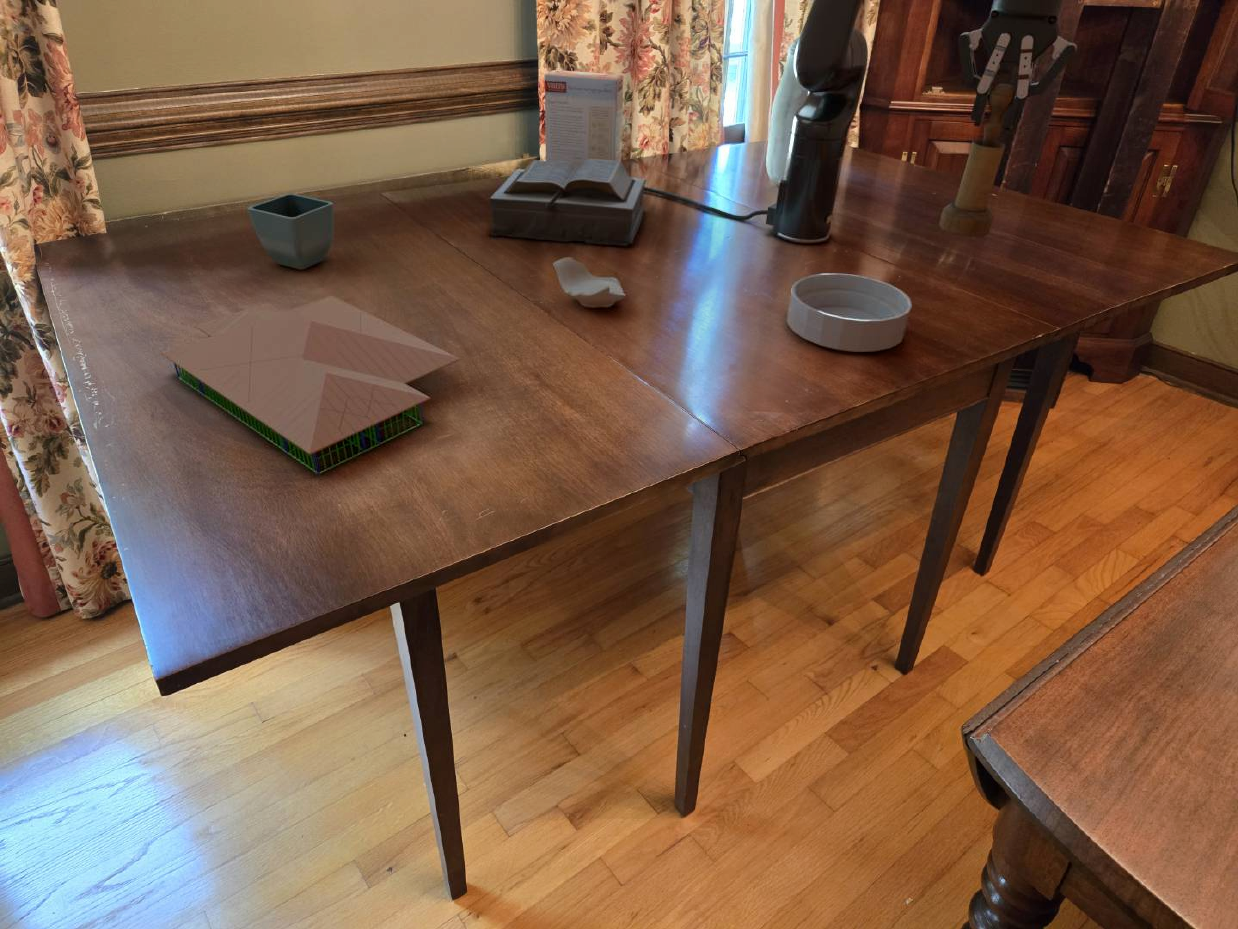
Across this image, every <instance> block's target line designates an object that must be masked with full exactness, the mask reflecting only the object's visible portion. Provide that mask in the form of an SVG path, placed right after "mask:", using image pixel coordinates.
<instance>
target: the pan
mask: <svg viewBox="0 0 1238 929" xmlns="http://www.w3.org/2000/svg"><path fill="white" fill-rule="evenodd" d="M912 309H913V304H912V300H911V297H910V296H908V295H907V294H906V293H905V291H903V290H901V289H899V287H896V286H894V285H892V284H891V283H888V282H885V281H882V280H879V279H876V278H873V277H868V276H864V275H859V274H852V273H851V274H849V273H840V272H839V273H838V272H834V273H827V272H826V273H817V274H812V275H811V274H810V275H807V276H804V277H802V278H799V279H797V280H796V281H795V282H794V284H792V286H791V290H790V296H789V302H788V307H787V314H786V323H787V325H788V327H789V328H790V329H791V331H793V332H794V333H795V334H797V335H798V336H799V337H801V338H803V339H804V340H806V341H809V342H811V343H814V344H816V345H819V346H821V347H825V348H829V349H832V350H837V351H842V352H843V351H844V352H852V353H853V352H854V353H855V352H856V353H863V352H879V351H884V350H888V349H891V348H894V347H895V346H897V345H899V344H900V343H902V341H903V339H904V337H905V336H906V332H907V328H908V325H909V320H910V316H911V312H912Z"/></svg>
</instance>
